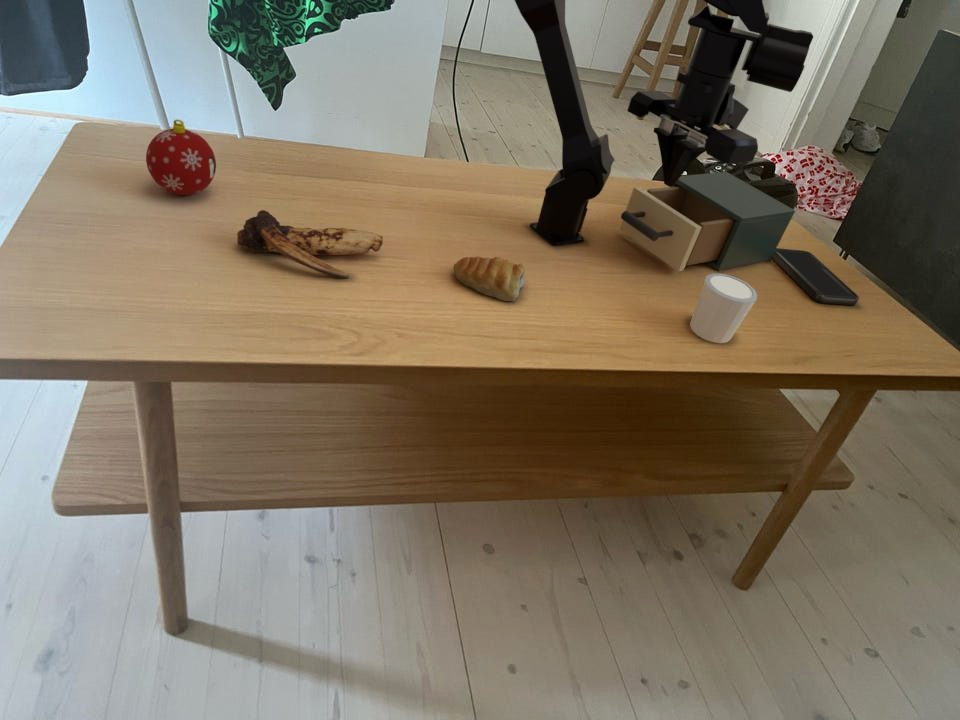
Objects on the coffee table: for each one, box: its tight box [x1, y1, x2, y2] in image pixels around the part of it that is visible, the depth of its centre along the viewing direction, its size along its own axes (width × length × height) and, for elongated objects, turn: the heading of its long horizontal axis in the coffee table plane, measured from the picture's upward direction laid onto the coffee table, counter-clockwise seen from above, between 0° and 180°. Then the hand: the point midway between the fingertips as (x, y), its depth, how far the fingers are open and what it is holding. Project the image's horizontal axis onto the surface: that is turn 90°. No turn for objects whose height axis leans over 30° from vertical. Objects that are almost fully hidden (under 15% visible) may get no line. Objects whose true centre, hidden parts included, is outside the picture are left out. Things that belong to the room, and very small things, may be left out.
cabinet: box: [669, 171, 796, 272], centre depth 112 cm, size 14×15×9 cm
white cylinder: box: [689, 272, 758, 344], centre depth 89 cm, size 7×7×7 cm
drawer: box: [619, 186, 736, 273], centre depth 105 cm, size 17×13×7 cm
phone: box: [771, 247, 860, 306], centre depth 110 cm, size 8×1×15 cm
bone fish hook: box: [236, 209, 384, 279], centre depth 85 cm, size 9×5×18 cm
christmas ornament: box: [145, 118, 217, 196], centre depth 91 cm, size 9×9×10 cm
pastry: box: [452, 256, 526, 302], centre depth 89 cm, size 9×7×4 cm
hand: (668, 185), depth 96 cm, fingers closed
